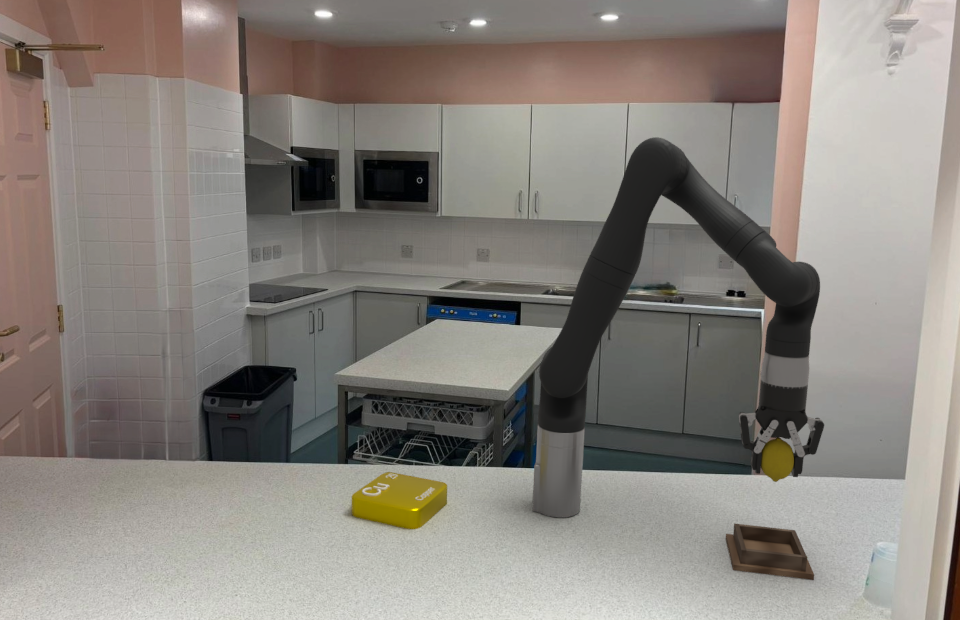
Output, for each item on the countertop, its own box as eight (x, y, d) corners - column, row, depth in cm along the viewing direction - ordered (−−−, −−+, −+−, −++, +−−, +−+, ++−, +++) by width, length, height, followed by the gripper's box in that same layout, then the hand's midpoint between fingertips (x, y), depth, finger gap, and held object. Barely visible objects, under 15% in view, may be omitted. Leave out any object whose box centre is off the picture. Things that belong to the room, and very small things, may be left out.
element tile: (416, 533, 143) (417, 508, 142) (347, 517, 149) (347, 494, 148) (450, 502, 157) (451, 480, 156) (385, 489, 162) (385, 468, 161)
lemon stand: (733, 570, 132) (734, 551, 131) (725, 538, 144) (727, 521, 143) (813, 580, 130) (815, 560, 129) (799, 547, 141) (801, 529, 141)
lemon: (794, 489, 131) (799, 444, 130) (760, 486, 132) (764, 441, 131) (788, 477, 136) (792, 433, 135) (756, 474, 137) (759, 431, 136)
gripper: (742, 382, 129) (735, 478, 132) (834, 388, 126) (824, 486, 129) (737, 371, 136) (730, 462, 139) (824, 377, 133) (815, 469, 136)
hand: (775, 473), depth 134 cm, fingers closed on lemon, 5 cm apart
